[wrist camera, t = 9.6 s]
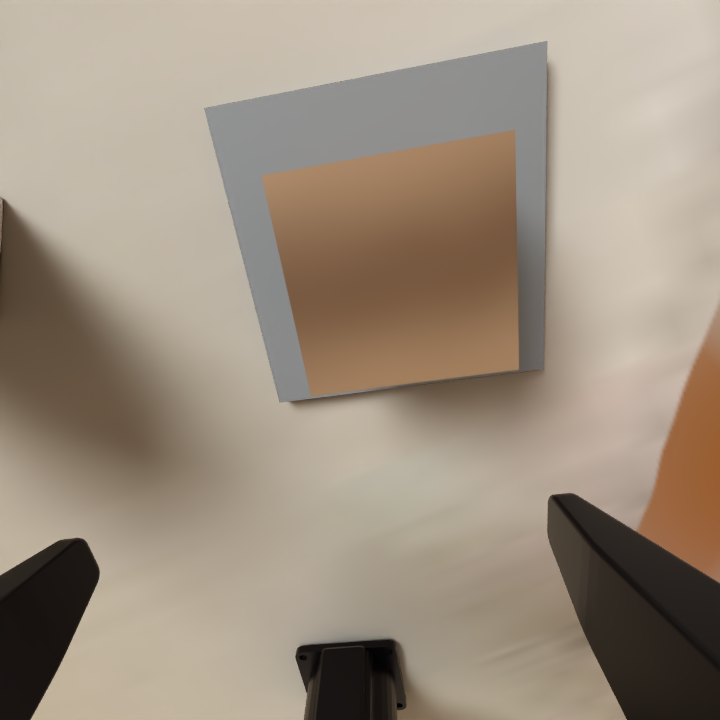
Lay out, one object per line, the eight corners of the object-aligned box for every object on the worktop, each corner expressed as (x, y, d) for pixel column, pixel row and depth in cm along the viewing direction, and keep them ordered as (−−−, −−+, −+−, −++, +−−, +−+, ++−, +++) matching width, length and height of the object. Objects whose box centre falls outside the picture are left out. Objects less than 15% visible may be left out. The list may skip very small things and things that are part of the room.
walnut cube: (471, 314, 17) (518, 369, 11) (331, 333, 17) (311, 396, 12) (462, 156, 15) (515, 129, 9) (302, 184, 15) (261, 175, 10)
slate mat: (537, 362, 18) (543, 369, 18) (283, 394, 19) (279, 402, 19) (538, 49, 14) (547, 40, 13) (212, 112, 15) (204, 108, 14)
